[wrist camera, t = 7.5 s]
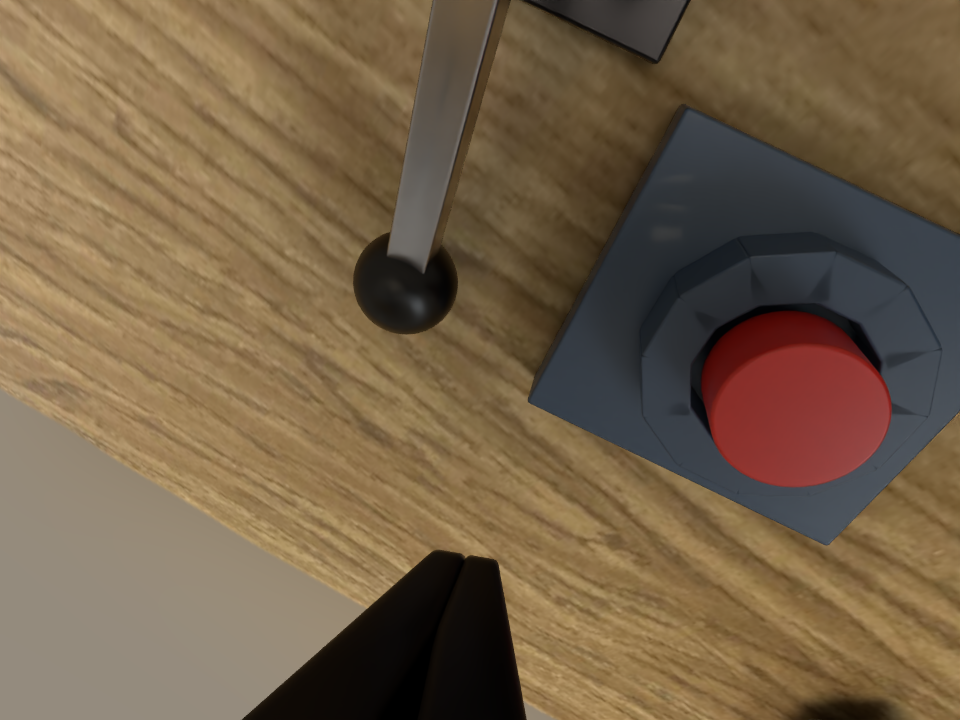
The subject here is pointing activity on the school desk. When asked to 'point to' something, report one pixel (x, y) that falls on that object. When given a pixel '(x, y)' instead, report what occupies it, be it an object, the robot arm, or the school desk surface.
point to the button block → (754, 311)
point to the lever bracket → (622, 21)
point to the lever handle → (431, 171)
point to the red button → (793, 400)
